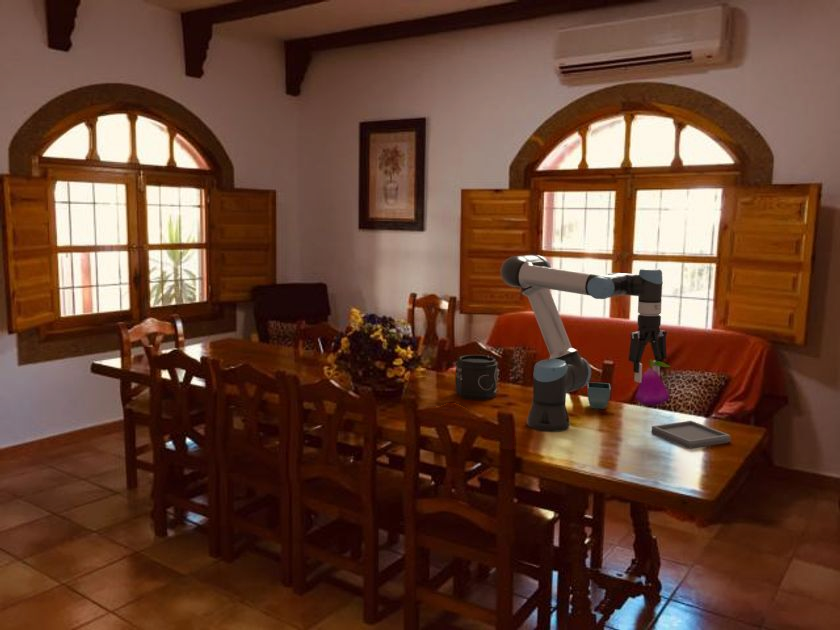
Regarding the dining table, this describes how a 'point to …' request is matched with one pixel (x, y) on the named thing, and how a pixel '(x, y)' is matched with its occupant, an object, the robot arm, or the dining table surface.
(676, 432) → the grey square tray
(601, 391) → the flower pot
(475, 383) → the dark grey canister
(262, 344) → the dining table surface
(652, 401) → the pear
